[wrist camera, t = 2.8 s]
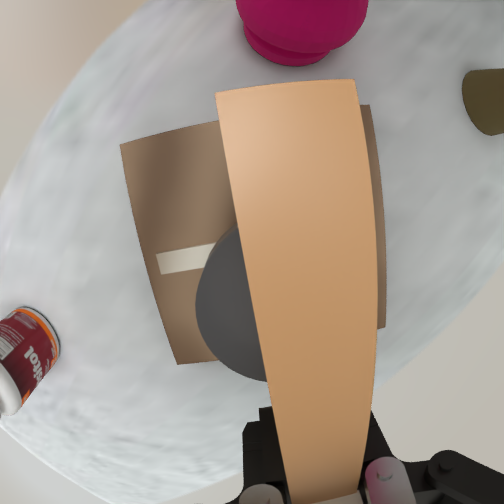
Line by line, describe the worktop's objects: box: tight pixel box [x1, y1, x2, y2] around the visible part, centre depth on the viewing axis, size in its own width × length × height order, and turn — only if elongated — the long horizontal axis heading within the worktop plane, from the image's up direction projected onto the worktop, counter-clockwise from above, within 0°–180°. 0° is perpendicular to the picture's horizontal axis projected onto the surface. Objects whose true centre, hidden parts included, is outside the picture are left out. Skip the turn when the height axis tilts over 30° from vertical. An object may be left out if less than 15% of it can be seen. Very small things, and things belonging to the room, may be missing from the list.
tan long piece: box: [195, 79, 378, 504], centre depth 8 cm, size 6×12×8 cm, turn 10°
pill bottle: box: [0, 308, 59, 418], centre depth 16 cm, size 6×6×11 cm
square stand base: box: [120, 105, 386, 365], centre depth 16 cm, size 16×16×8 cm
